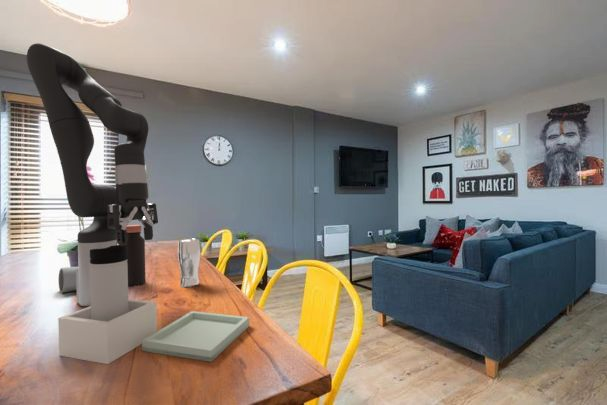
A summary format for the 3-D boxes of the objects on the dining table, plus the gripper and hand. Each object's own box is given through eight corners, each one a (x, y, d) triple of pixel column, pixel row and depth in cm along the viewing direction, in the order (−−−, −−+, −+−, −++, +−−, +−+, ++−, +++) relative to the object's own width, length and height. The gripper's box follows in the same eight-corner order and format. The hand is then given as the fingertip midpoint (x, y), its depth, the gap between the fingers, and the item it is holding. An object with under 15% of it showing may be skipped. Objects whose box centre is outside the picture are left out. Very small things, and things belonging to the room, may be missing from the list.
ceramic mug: (95, 288, 96) (94, 265, 96) (63, 295, 90) (62, 269, 90) (85, 283, 103) (85, 261, 103) (55, 289, 97) (54, 265, 97)
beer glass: (193, 288, 95) (192, 241, 95) (173, 287, 97) (173, 241, 96) (204, 282, 102) (203, 238, 102) (186, 281, 103) (185, 238, 103)
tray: (142, 350, 56) (141, 340, 56) (192, 319, 71) (191, 311, 71) (211, 361, 52) (211, 350, 52) (249, 325, 67) (249, 317, 67)
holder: (59, 355, 55) (58, 318, 55) (114, 328, 66) (113, 297, 66) (107, 364, 52) (106, 324, 52) (156, 334, 63) (156, 302, 63)
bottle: (128, 281, 104) (127, 224, 103) (148, 281, 104) (147, 224, 104) (118, 287, 97) (117, 226, 97) (140, 286, 98) (138, 226, 97)
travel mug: (102, 356, 54) (99, 248, 54) (85, 347, 58) (83, 245, 58) (136, 342, 60) (134, 243, 59) (119, 334, 63) (117, 241, 63)
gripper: (141, 185, 88) (145, 239, 88) (96, 182, 75) (101, 247, 75) (162, 182, 86) (166, 238, 86) (120, 180, 73) (125, 245, 73)
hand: (136, 242), depth 80 cm, fingers open, 8 cm apart
